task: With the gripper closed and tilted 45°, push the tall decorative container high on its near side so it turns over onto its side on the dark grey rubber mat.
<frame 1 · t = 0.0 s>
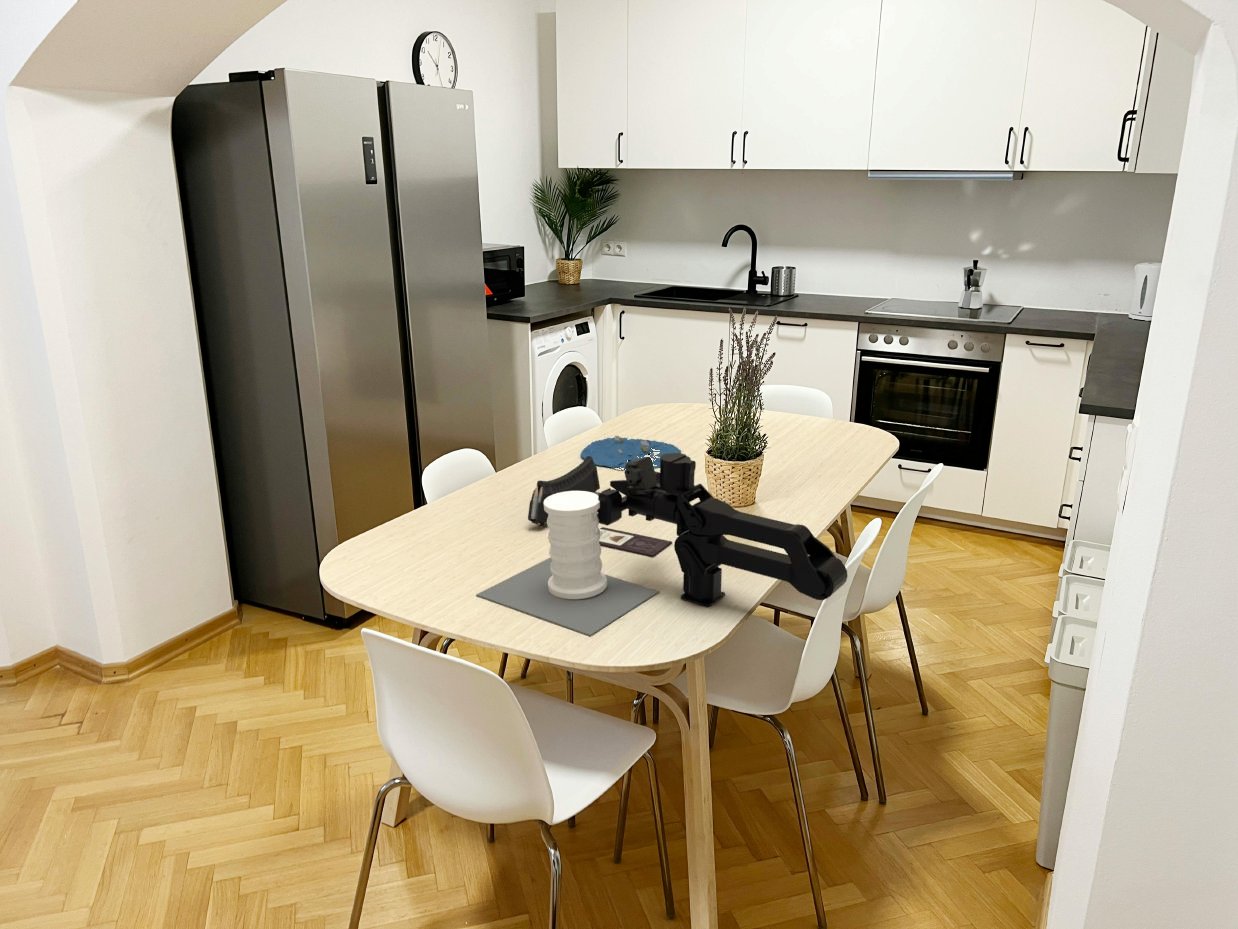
hand: (597, 488, 181), 17 cm above the table, tool horizontal, fingers open, 8 cm apart
chocolate bar: (626, 545, 199), on the table
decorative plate: (632, 457, 263), on the table
decorative container: (577, 587, 176), resting on rubber mat, touching gripper
magazine: (566, 512, 218), on the table
rubber mat: (568, 594, 174), on the table
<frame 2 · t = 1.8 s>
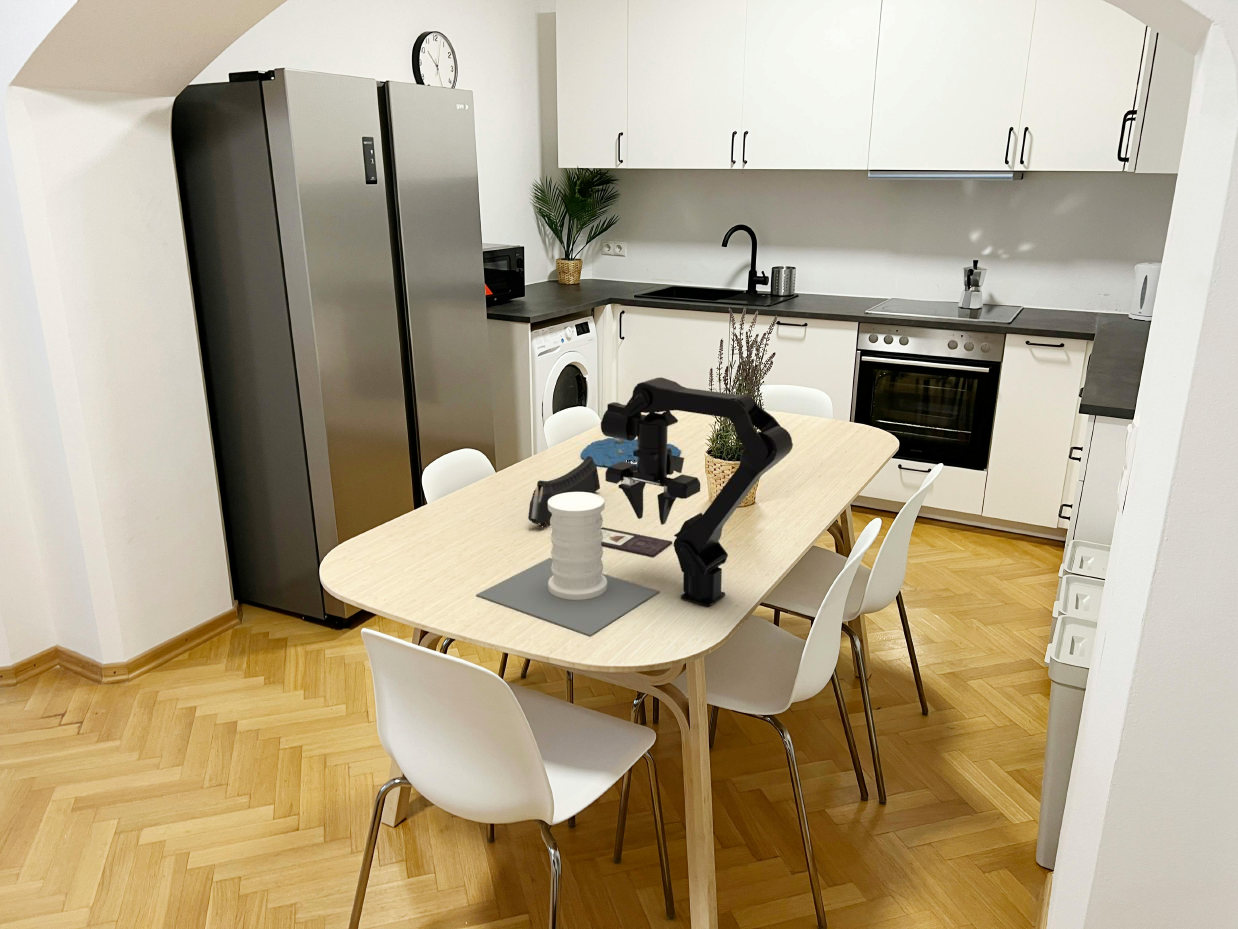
hand: (651, 521, 175), 13 cm above the table, tool pointing down, fingers open, 5 cm apart
decorative container: (577, 588, 176), resting on rubber mat
everything else where it was.
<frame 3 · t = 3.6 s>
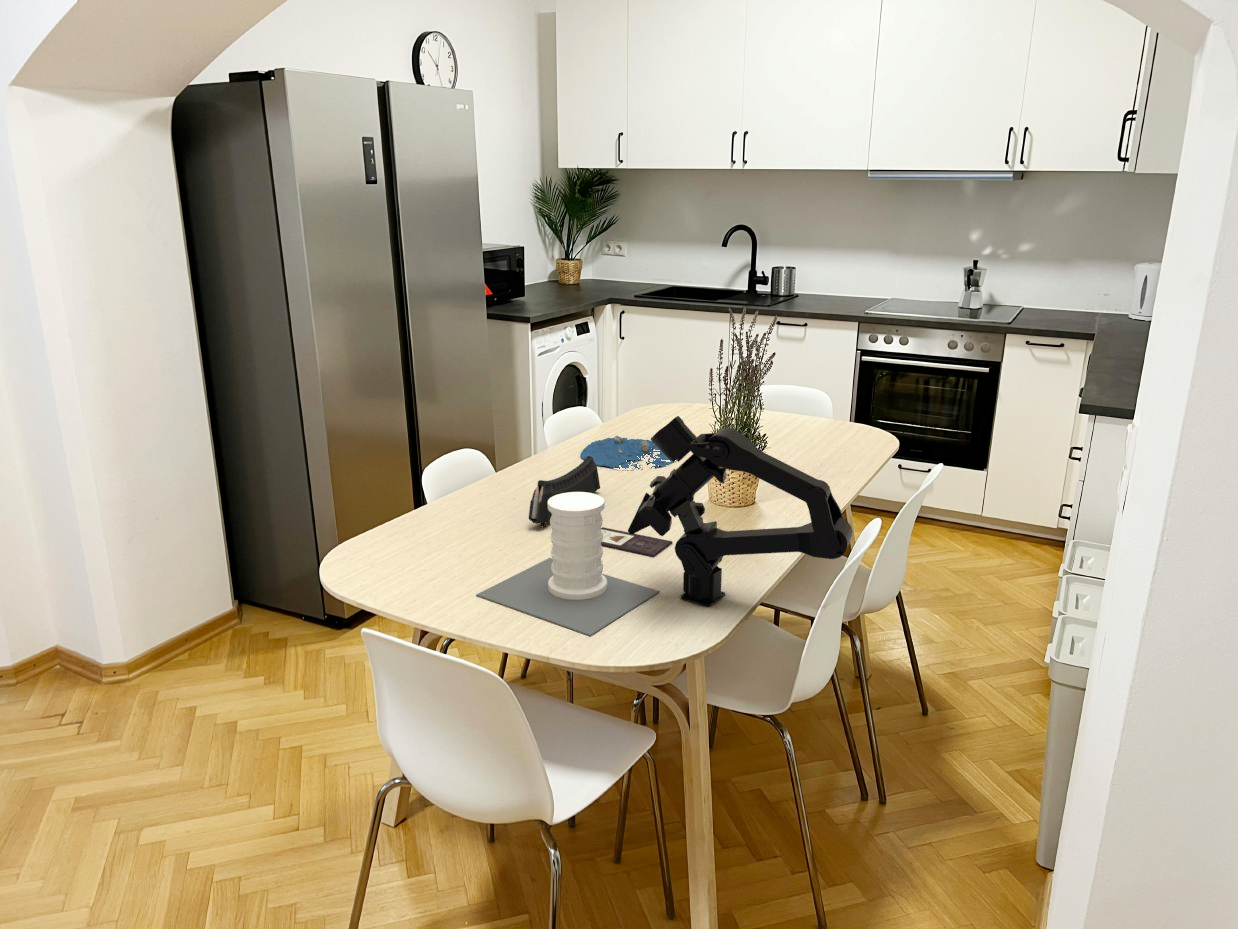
hand: (629, 532, 171), 12 cm above the table, tool tilted 45°, fingers closed
nothing on the table moved.
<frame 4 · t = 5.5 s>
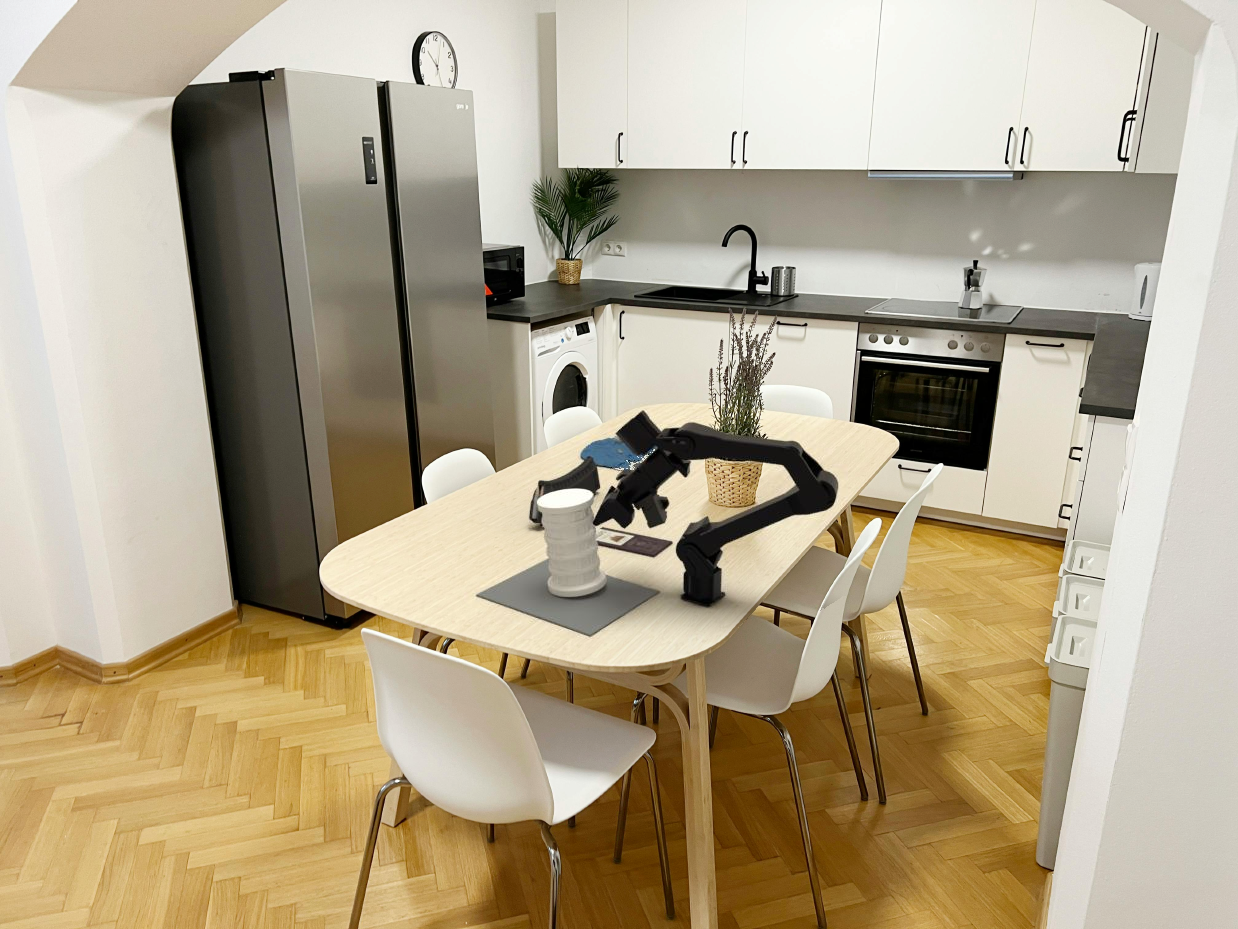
hand: (594, 524, 172), 13 cm above the table, tool tilted 45°, fingers closed
decorative container: (577, 585, 176), point 1 cm above the table, touching gripper, rubber mat
everything else where it was.
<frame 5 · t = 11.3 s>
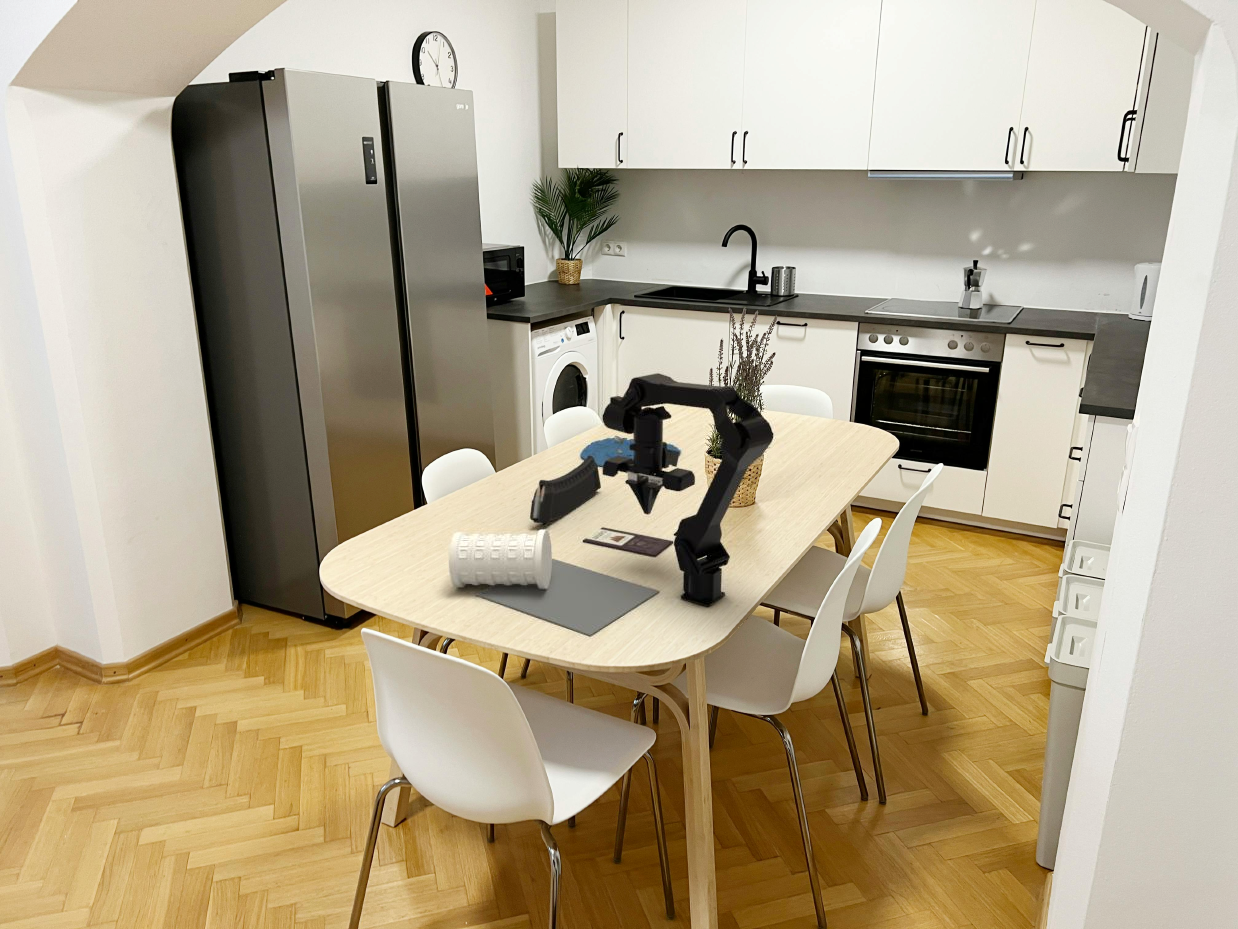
hand: (647, 513, 179), 13 cm above the table, tool pointing down, fingers closed
decorative container: (547, 559, 175), point 6 cm above the table, touching rubber mat
everything else where it was.
at the end: decorative container tilted 92°; decorative container inside the target area (2.0 cm from its centre), point 6.1 cm above the table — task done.
